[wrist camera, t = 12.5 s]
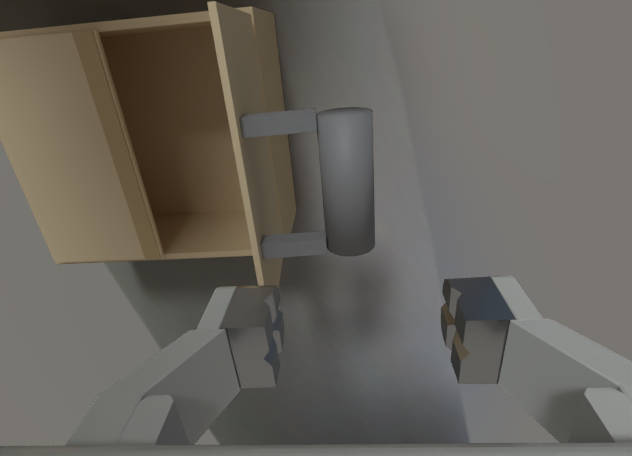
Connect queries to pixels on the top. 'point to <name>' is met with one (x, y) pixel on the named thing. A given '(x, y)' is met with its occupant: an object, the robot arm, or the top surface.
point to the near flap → (255, 161)
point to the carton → (134, 137)
